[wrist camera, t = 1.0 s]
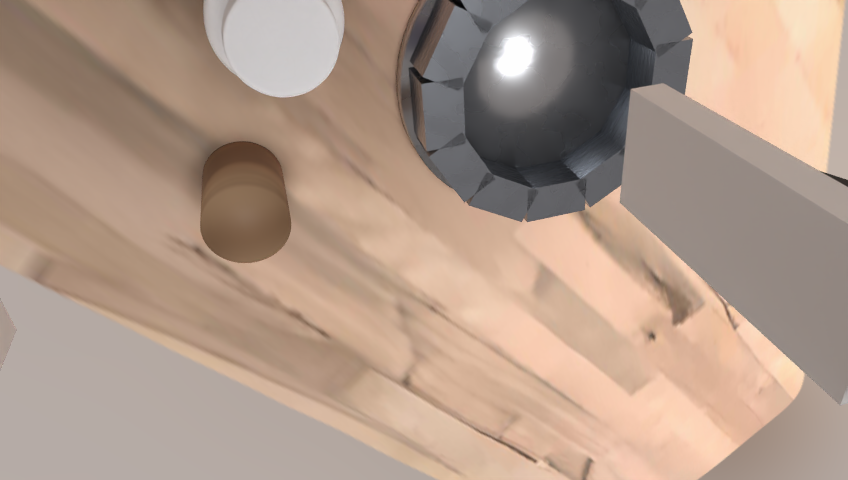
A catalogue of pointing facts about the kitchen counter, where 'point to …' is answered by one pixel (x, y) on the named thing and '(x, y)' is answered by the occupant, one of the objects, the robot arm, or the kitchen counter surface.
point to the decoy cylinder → (244, 203)
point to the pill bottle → (276, 41)
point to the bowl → (533, 94)
